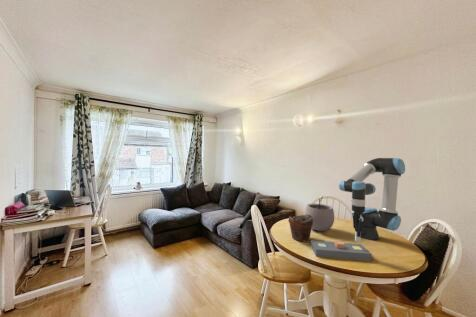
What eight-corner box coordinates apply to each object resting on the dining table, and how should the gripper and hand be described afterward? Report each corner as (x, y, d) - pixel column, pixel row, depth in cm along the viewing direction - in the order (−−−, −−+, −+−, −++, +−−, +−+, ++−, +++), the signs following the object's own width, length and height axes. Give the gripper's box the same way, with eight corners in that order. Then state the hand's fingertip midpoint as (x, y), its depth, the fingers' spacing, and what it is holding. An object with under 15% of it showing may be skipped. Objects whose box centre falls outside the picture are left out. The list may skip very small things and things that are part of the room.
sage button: (324, 248, 138) (324, 243, 138) (326, 252, 133) (326, 246, 133) (317, 248, 139) (317, 243, 139) (319, 251, 134) (319, 246, 134)
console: (360, 250, 139) (361, 244, 139) (371, 261, 125) (371, 253, 125) (311, 246, 144) (311, 240, 144) (315, 256, 130) (316, 249, 130)
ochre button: (359, 251, 135) (359, 246, 135) (362, 255, 130) (362, 249, 130) (351, 251, 136) (351, 245, 136) (354, 254, 131) (354, 249, 131)
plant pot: (304, 232, 171) (305, 197, 170) (304, 223, 193) (305, 192, 193) (335, 236, 163) (337, 199, 163) (332, 227, 186) (333, 194, 186)
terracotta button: (341, 246, 136) (342, 241, 136) (344, 249, 132) (344, 244, 132) (334, 246, 137) (334, 240, 137) (336, 249, 132) (336, 243, 132)
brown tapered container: (283, 238, 158) (283, 215, 157) (296, 231, 172) (296, 210, 171) (304, 245, 145) (305, 220, 145) (316, 238, 159) (317, 215, 159)
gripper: (348, 202, 140) (347, 236, 140) (356, 207, 127) (355, 244, 127) (359, 203, 138) (359, 237, 139) (369, 208, 126) (368, 245, 126)
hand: (357, 240), depth 133 cm, fingers closed
